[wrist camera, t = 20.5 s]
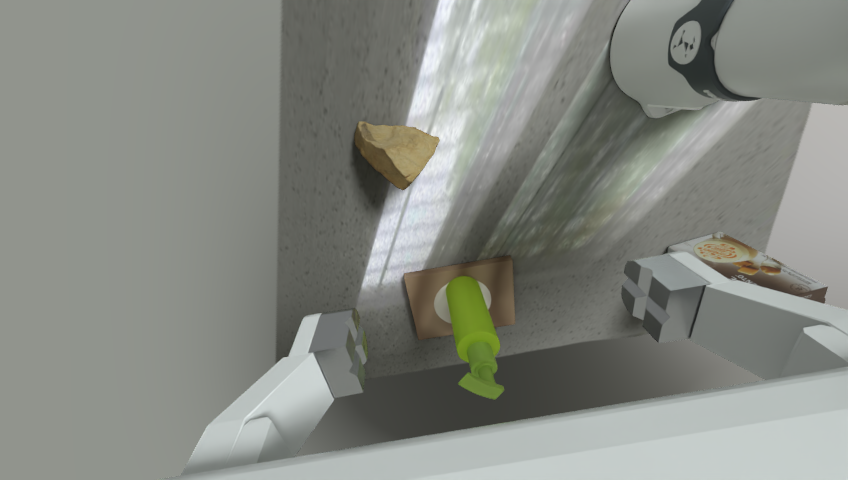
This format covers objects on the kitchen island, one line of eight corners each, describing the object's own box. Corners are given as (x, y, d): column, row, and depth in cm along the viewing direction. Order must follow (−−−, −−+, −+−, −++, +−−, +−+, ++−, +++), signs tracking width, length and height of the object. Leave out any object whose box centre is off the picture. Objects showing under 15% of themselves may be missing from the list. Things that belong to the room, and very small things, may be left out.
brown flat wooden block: (509, 255, 56) (512, 260, 54) (512, 318, 62) (515, 324, 61) (404, 273, 56) (404, 278, 55) (418, 334, 63) (418, 340, 61)
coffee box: (665, 275, 60) (748, 340, 46) (666, 245, 57) (755, 306, 43) (718, 260, 59) (819, 322, 45) (722, 229, 56) (831, 285, 42)
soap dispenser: (452, 268, 54) (477, 366, 37) (486, 284, 56) (525, 385, 39) (433, 293, 56) (448, 398, 39) (467, 308, 58) (496, 414, 41)
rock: (331, 149, 44) (386, 202, 46) (343, 123, 36) (408, 189, 38) (383, 100, 47) (431, 152, 50) (404, 66, 39) (460, 130, 42)
